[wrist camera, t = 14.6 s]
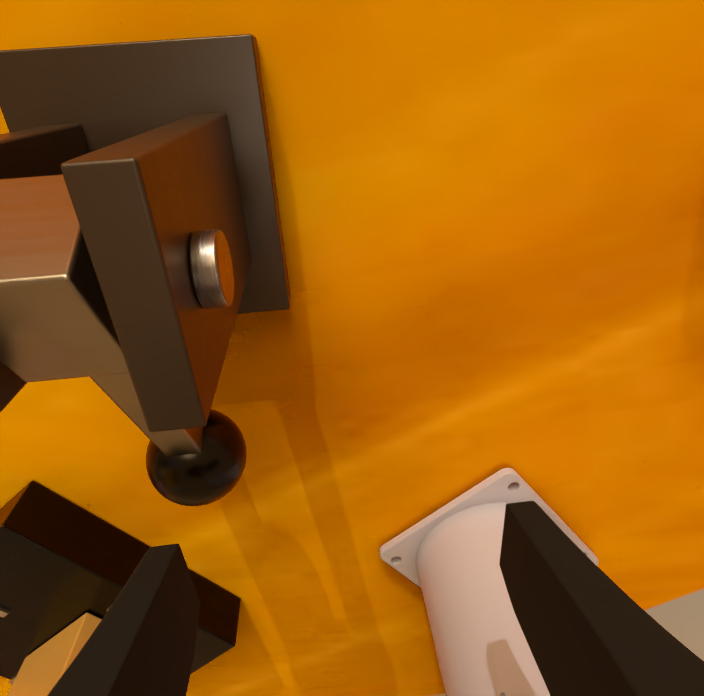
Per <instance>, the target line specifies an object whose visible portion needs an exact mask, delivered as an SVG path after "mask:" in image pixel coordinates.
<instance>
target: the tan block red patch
mask: <svg viewBox="0 0 704 696" xmlns="http://www.w3.org/2000/svg"><path fill="white" fill-rule="evenodd" d="M101 620H102V619H100V618H98V617H96V616H94V615H92V614H90V613H85V614H84V615H82V616H81V617H80V618H78V619H77V620H76V621H74V622H73V623H72V624H70V625H69V626H67V627H66V628H65V629H63V630H62V631H61V632H59V633H58V634H57V635H55V636H54V637H53V638H51V639H50V640H48V641H47V642H46V643H44V644H43V645H42V646H40V647H39V648H38V649H36V650H35V651H34V652H32V653H31V654H29V655H28V656H27V657H26V658H25V659H24V662H23V664H22V666H21V668H20V670H19V672H18V674H17V676H16V678H15V680H14V683H13V685H12V687H11V689H10V691H9V693H8V695H7V696H47V695H48V694H49V692H50V691H51V690H52V688H53V687H54V686H55V684H56V683H57V682H58V680H59V679H60V678H61V676H62V675H63V674H64V672H65V671H66V670H67V668H68V667H69V666H70V664H71V663H72V662H73V660H74V659H75V658H76V656H77V655H78V653H79V652H80V651H81V649H82V648H83V646H84V645H85V643H86V642H87V640H88V639H89V638H90V636H91V635H92V633H93V632H94V630H95V629H96V627H97V626H98V625H99V623H100V622H101Z"/></svg>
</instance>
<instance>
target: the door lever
mask: <svg viewBox="0 0 704 696" xmlns="http://www.w3.org/2000/svg"><path fill="white" fill-rule="evenodd" d="M0 362H1V363H2V364H3V365H4V366H5V367H7V368H8V369H9V370H10V371H12V372H13V373H14V374H15V375H16V376H18V377H19V378H20V379H21V380H23V381H25V382H36V381H46V380H57V379H67V378H77V377H88V376H89V377H90V378H91V379H92V380H93V381H94V382H95V383H96V384H97V385H98V386H99V387H100V388H101V389H102V390H103V391H104V392H105V393H106V394H107V395H108V396H109V397H110V398H111V399H112V400H113V401H114V402H115V404H116V405H117V406H118V407H119V408H120V409H121V410H122V411H123V412H124V413H125V414H126V415H127V416H128V417H129V418H130V419H131V420H132V421H133V422H134V423H135V424H136V425H137V426H138V427H139V428H140V429H141V431H142V432H143V433H144V434H145V435H146V436H147V437H148V438H149V439H150V442H149V445H148V448H147V453H146V467H147V472H148V475H149V478H150V480H151V482H152V484H153V485H154V487H155V488H156V489H157V491H158V492H159V493H160V494H161V495H163V496H164V497H165V498H167V499H168V500H170V501H172V502H174V503H177V504H180V505H185V506H201V505H206V504H210V503H212V502H214V501H217V500H219V499H220V498H222V497H224V496H225V495H226V494H227V493H229V492H230V491H231V490H232V489H233V488H234V486H235V485H236V484H237V482H238V481H239V479H240V477H241V475H242V473H243V470H244V468H245V464H246V444H245V440H244V438H243V435H242V433H241V431H240V429H239V428H238V427H237V425H236V424H235V423H234V422H233V421H232V420H231V419H230V418H229V417H227V416H226V415H224V414H222V413H220V412H218V411H215V410H212V409H210V413H209V416H208V420H207V424H206V426H204V427H198V428H188V429H179V430H169V431H159V432H149V430H148V428H147V425H146V422H145V419H144V416H143V413H142V410H141V407H140V404H139V401H138V398H137V395H136V392H135V389H134V386H133V383H132V380H131V377H130V374H129V371H128V368H127V365H126V362H125V359H124V356H123V353H122V350H121V347H120V344H119V341H118V338H117V335H116V332H115V329H114V326H113V323H112V320H111V317H110V314H109V311H108V308H107V305H106V302H105V299H104V296H103V293H102V290H101V287H100V284H99V281H98V278H97V275H96V272H95V269H94V266H93V264H92V261H91V258H90V255H89V252H88V249H87V246H86V243H85V240H84V237H83V234H82V231H81V228H80V225H79V222H78V219H77V216H76V213H75V210H74V207H73V204H72V201H71V198H70V195H69V192H68V189H67V186H66V183H65V180H64V177H63V174H61V175H48V176H36V177H23V178H10V179H0Z"/></svg>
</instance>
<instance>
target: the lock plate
mask: <svg viewBox="0 0 704 696" xmlns="http://www.w3.org/2000/svg"><path fill="white" fill-rule="evenodd" d="M149 548H150V547H149V546H147V545H145V544H144V543H142V542H140V541H138V540H137V539H135V538H133V537H131V536H130V535H128V534H126V533H124V532H123V531H121V530H119V529H117V528H116V527H114V526H112V525H110V524H109V523H107V522H105V521H103V520H102V519H100V518H98V517H96V516H95V515H93V514H91V513H89V512H88V511H86V510H84V509H82V508H81V507H79V506H77V505H75V504H74V503H72V502H70V501H68V500H67V499H65V498H63V497H61V496H60V495H58V494H56V493H54V492H53V491H51V490H49V489H47V488H45V487H44V486H42V485H40V484H38V483H37V482H35V481H31V482H30V483H29V484H28V485H27V486H26V487H24V488H23V489H22V490H21V491H20V492H19V493H18V494H17V495H16V496H14V497H13V498H12V499H11V500H10V501H9V502H8V503H7V504H6V505H4V506H3V507H2V508H1V509H0V676H2V677H5V678H8V679H10V681H9V683H11V684H13V683H14V680H15V678H16V676H17V674H18V672H19V670H20V668H21V666H22V664H23V662H24V659H25V658H26V657H27V656H28V655H29V654H31V653H32V652H34V651H35V650H36V649H38V648H39V647H40V646H42V645H43V644H44V643H46V642H47V641H48V640H50V639H51V638H53V637H54V636H55V635H57V634H58V633H59V632H61V631H62V630H63V629H65V628H66V627H67V626H69V625H70V624H72V623H73V622H74V621H76V620H77V619H78V618H80V617H81V616H82V615H84V614H85V613H90V614H92V615H94V616H96V617H98V618H100V619H103V617H104V616H105V614H106V613H107V611H108V610H109V608H110V607H111V605H112V604H113V602H114V601H115V599H116V598H117V596H118V595H119V593H120V592H121V590H122V589H123V587H124V586H125V584H126V583H127V581H128V580H129V578H130V576H131V575H132V573H133V572H134V570H135V569H136V567H137V566H138V564H139V562H140V561H141V559H142V558H143V556H144V555H145V553H146V552H147V550H148V549H149ZM188 570H189V569H188ZM189 573H190V576H191V578H192V581H193V584H194V586H195V589H196V592H197V595H198V597H199V600H200V610H199V620H198V630H197V638H196V647H195V654H194V659H193V664H192V669H191V673H193V672H195V671H196V670H198V669H199V668H201V667H202V666H204V665H206V664H207V663H209V662H210V661H212V660H213V659H215V658H217V657H218V656H220V655H221V654H223V653H225V652H226V651H228V650H229V649H231V648H232V647H234V646H235V643H236V635H237V626H238V618H239V609H240V601H241V599H240V598H238V597H237V596H235V595H233V594H231V593H230V592H228V591H226V590H224V589H223V588H221V587H219V586H217V585H216V584H214V583H212V582H210V581H209V580H207V579H205V578H203V577H202V576H200V575H198V574H196V573H195V572H193V571H191V570H189ZM191 673H190V674H191Z"/></svg>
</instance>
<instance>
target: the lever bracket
mask: <svg viewBox="0 0 704 696" xmlns="http://www.w3.org/2000/svg"><path fill="white" fill-rule="evenodd" d="M0 107H1V110H2V113H3V115H4V118H5V121H6V123H7V126H8V129H9V132H10V133H6V134H1V135H0V179H10V178H23V177H36V176H48V175H61V174H63V177H64V180H65V183H66V186H67V189H68V192H69V195H70V198H71V201H72V204H73V207H74V210H75V213H76V216H77V219H78V222H79V225H80V228H81V231H82V234H83V237H84V240H85V243H86V246H87V249H88V252H89V255H90V258H91V261H92V264H93V266H94V269H95V272H96V275H97V278H98V281H99V284H100V287H101V290H102V293H103V296H104V299H105V302H106V305H107V308H108V311H109V314H110V317H111V320H112V323H113V326H114V329H115V332H116V335H117V338H118V341H119V344H120V347H121V350H122V353H123V356H124V359H125V362H126V365H127V368H128V371H129V374H130V377H131V380H132V383H133V386H134V389H135V392H136V395H137V398H138V401H139V404H140V407H141V410H142V413H143V416H144V419H145V422H146V425H147V428H148V430H149V432H159V431H169V430H179V429H188V428H198V427H204V426H206V424H207V420H208V416H209V413H210V409H211V406H212V402H213V398H214V395H215V391H216V388H217V384H218V380H219V377H220V373H221V369H222V366H223V362H224V359H225V355H226V351H227V348H228V344H229V341H230V337H231V333H232V330H233V326H234V322H235V319H236V315H237V314H240V313H251V312H262V311H273V310H283V309H289V308H290V289H289V282H288V274H287V267H286V259H285V251H284V244H283V236H282V229H281V221H280V214H279V206H278V199H277V191H276V184H275V176H274V169H273V161H272V153H271V146H270V138H269V131H268V123H267V116H266V108H265V101H264V93H263V86H262V78H261V71H260V63H259V55H258V48H257V40H256V37H254V36H253V35H251V34H246V35H230V36H215V37H200V38H185V39H170V40H154V41H139V42H124V43H109V44H94V45H78V46H63V47H48V48H33V49H18V50H2V51H0ZM26 383H27V382H25V381H23V380H21V379H20V378H19V377H18V376H16V375H15V374H14V373H13V372H12V371H10V370H9V369H8V368H7V367H5V366H4V365H3V364H2V363H1V362H0V412H1V411H2V410H3V409H4V408H5V407H6V406H7V404H8V403H9V402H10V401H11V400H12V399H13V398H14V397H15V395H16V394H17V393H18V392H19V391H20V390H21V389H22V388H23V387H24V385H25V384H26Z"/></svg>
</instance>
